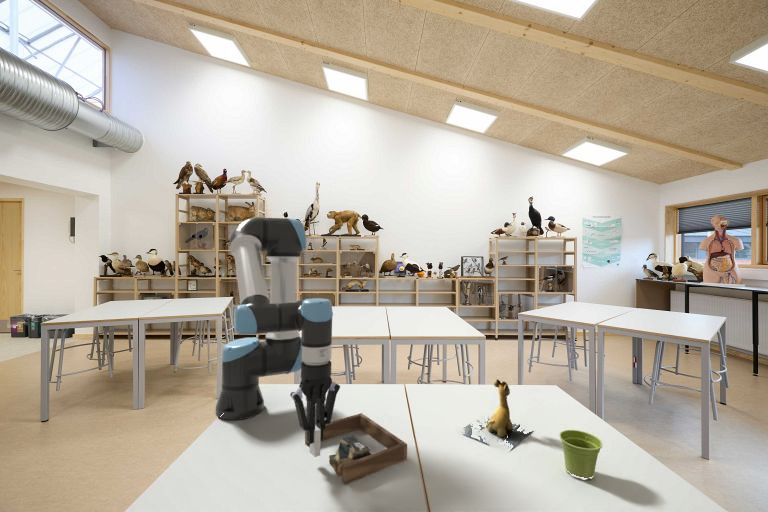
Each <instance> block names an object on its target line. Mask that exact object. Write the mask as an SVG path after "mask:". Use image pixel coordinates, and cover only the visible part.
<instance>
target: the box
mask: <svg viewBox="0 0 768 512" xmlns="http://www.w3.org/2000/svg"><path fill="white" fill-rule="evenodd" d="M325 426H326V428H325V429H324V430H323V440H320V442H322V441H324V440H328V439H331V438H334V437H337V436H340V435H344V434H347V433H350V432H354V431H357V430H359V429H360V430H362V431H363V432H364V433H366V434H367V435H369V437H371V438H372V439H374V440H375V441H376V442H378V443H379V444H380V445H381V446H383V447H384V448H385V449H382V450H380V451H377V452H375V453H374V452H373V453H371V455H369V456H366V457H363V458H361V459H358V460H355V461H352V462H350V463H347V464H344V465H343V474H342V476H341V477H342V482H341V483H342V484H344V485H348V484H350V483H352V482H355V481H357V480H359V479H362V478H365V477H367V476H370V475H372V474H375V473H377V472H380V471H382V470H384V469H387V468H390V467H391V466H392V467H393V466H394V465H397V464H399V463H401V462H404V461H407V460H408V443H407V442H405V441H404V440H402V439H400V438H399V437H397V436H396V435H395V434H393V433H392V432H390V431H389V430H387V429H386V428H384V427H383V426H381V425H380V424H378V423H377V422H375V420H373V419H371V418H370V417H368V416H367V415H365V414H363V412H362V413H361V412H360V413H357V414H354V415H350V416H346V417H343V418H340V419H336V420H333V421H332V420H331V422H330V423H329V424H326V425H325ZM304 431H305V430H304ZM304 433H305V434H304V442H305V445H306V446H310V443H309V442H308V441H307V431H305V432H304Z"/></svg>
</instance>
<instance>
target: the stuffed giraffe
mask: <svg viewBox="0 0 768 512" xmlns="http://www.w3.org/2000/svg"><path fill="white" fill-rule="evenodd" d="M493 386H494V387H495V388H498V396H499V398H498V399H499V406H498V407H497V409H496V410H495V411H494V413H493V414H492V415H491V417H490V418H489V420H490V422H488V421H487V425H486V427H482V425H479V426H480V427H481V429H480V430H482V429H483V428H484V429H487V431H488V432H489V434H493V433H495V434H494V435H496V434H498V435H497V437H498V436H499V437H498V438H499V439H504V440H505V439H506V441H508V443H510V445H511V444H512V445H513V446H515V447H516V446H517V444H519V442H521V441H522V440H524V439H525V438H526V437H527V436H528V435H530V434H529V433H527V434H524V433H523V431H521V432H520V431H517V429H518V428H519V427H520V425H521V424H518V423H514V424H512V423H513V422H512V420H511V418H510V415H511V414H510V409H509V408H510V407H509V404H508V398H507V397H508V396H509V395H510V394H511V392H510V391H511V389H510V388H509V384H507V382H506V381H505V380H503V381H502V382H501V381H500V379H496V380H495V381H494V382H493ZM470 424H471V423H469V424H468V425H466V426H465V427H463V430H464V432H462V435H463V436H465V437H469V438H471V439H473V438H472V437H471V435H472V428H471V427H473V426H471V425H470ZM516 424H518V425H516ZM515 426H516V427H515ZM482 431H483V430H482ZM507 435H508V438H506V437H507ZM473 440H474V439H473ZM479 442H481V443H483V444H486V445H487V442H486V441H485V442H486V443H485V442H483V439H482V438H481V437H480V441H479ZM506 443H507V442H506ZM515 447H513V449H514V448H515Z"/></svg>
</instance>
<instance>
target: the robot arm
mask: <svg viewBox="0 0 768 512" xmlns="http://www.w3.org/2000/svg"><path fill="white" fill-rule="evenodd" d="M306 246H307V236H306V230H305V227H304V225H303V223H302V222H301V221H300V220H299V219H295V218H294V219H293V218H281V217H262V216H261V217H259V216H257V217H250V218H247V219H245V220H243V221H242V222H241V223H239V224H238V225H237V226H236V227H235V228H234V230H233V232H232V233H231V234H230V238H229V250H230V254H231V255H232V256H233V257H234V264H235V270H236V280H237V287H238V289H237V290H238V297H239V304H238V305H236V306H235V307H234V309H233V329H234V332H235V334H237V335H241V336H242V335H243V336H244V335H245V336H246V335H251V336H252V335H254V336H255V335H257V334H259V335H260V334H265V340H264V341H260V339H259V338H258V337H253V336H252V337H243V338H237V339H234V340H231V341H230V342H227V343H226V344H225V345H224V346H223V347H222V350H221V358H220V361H221V390H220V393H219V396H218V398H217V402H216V404H215V416H216V417H217V418H219V417H220V416H221V415H222V414H223V413H224V414H223V415H222V416H221V417H220V418H219V419H221V420H226V421H227V420H228V421H236V420H243V419H244V420H245V419H248V418H253V417H255V416H257V415H259V414H260V413H262V411H264V408H265V401H264V397H263V394H262V391H261V388H260V383H259V381H260V378H261V377H271V376H278V375H284V374H285V375H289V374H291V373H297V372H299V371H300V378H301V379H300V383H299V386H298V387H299V388H298V389H297V390H295V391H291V392H290V394H289V395H290V397H291V399H292V400H293V402H294V406H295V410H296V411H295V412H296V415H297V419H298V422H299V423H298V424H299V427H300V428H301V429H302V430H303V431H307V441H308V442H309V443H310V444H309V453H310V454H311V455H312V456H313V457H314V458H317V457H319V456H321V441H320V440H322V441H324V440H323V430H324V429H325V428H326V426H325V425H326V424H329V423H330V422H332V417H333V412H334V407H335V402H336V400H337V399H336V398H337V395H338V392H339V390H340V388H341V385H339V384H338V383H336V382H335V381H333V379H332V377H331V376H332V361H331V360H332V347H333V346H332V345H333V344H332V343H333V341H332V338H333V337H332V336H333V317H334V316H333V315H334V313H333V303H332V301H331V300H330V299H328V298H320V297H319V298H318V297H317V298H315V297H314V298H313V297H312V298H306V299H304V300H302V299H300V300H297V301H296V299H297V297H296V294H297V293H296V292H297V289H296V288H297V286H296V285H297V284H296V283H297V261H298V260H299V259H301V254H302V253H304V252H305V251H306V250H307V247H306ZM261 252H263V253H264V252H265V257H266V259H267V260H268V261H269V262H270V295H269V291H268V285H267V280H266V276H265V270H264V266H263V261H262V257H261V256H262V255H261ZM299 331H301V337H300V332H299ZM303 395H304V396H305V400H306V410H305V406H304V400H302V399H303Z"/></svg>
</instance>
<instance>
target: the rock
mask: <svg viewBox="0 0 768 512" xmlns="http://www.w3.org/2000/svg"><path fill="white" fill-rule="evenodd" d="M370 451H371V449H370V447H369V446H368V445H365V444H364V443H363V442H362V441H361V440H360V439H359V438H357V437H356V436H355V435H353V434H352V435H351V434H350V435H346V436H343V437H341V438H340V440H339V444H338V448H337V450H336V452H335V454H330V455H329V456H328V457H329V458H328V459H329V460H328V462H329V464H330V465H331V467H332V468H333V470H334V472H335V474H336V475H337V476H340V475H342V474H343V465H344V464H347V463H350V462H352V461H355V460H358V459H361V458H363V457H366V456H369V455H371V454H372V453H371V452H370Z"/></svg>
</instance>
